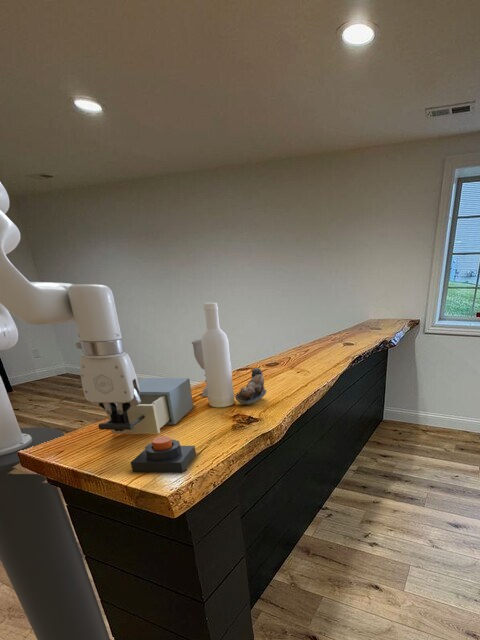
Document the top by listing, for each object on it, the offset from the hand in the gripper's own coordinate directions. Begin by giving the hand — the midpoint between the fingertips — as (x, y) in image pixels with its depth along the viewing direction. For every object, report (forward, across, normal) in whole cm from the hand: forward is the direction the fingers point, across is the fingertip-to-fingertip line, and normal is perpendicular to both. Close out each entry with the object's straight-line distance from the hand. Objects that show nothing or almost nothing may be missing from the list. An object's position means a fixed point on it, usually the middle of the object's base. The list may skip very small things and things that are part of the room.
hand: (122, 428), depth 80 cm
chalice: (+4, +7, +41) cm, 42 cm away
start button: (0, +13, -9) cm, 16 cm away
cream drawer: (+3, 0, +7) cm, 8 cm away
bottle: (+4, +14, +31) cm, 34 cm away
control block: (+4, +13, -9) cm, 17 cm away
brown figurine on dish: (+4, +23, +33) cm, 41 cm away
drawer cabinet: (+4, 0, +20) cm, 20 cm away
